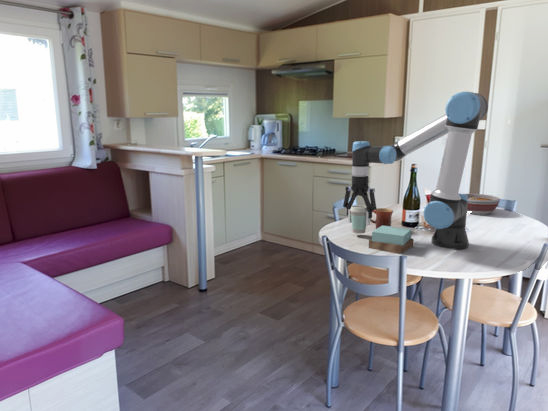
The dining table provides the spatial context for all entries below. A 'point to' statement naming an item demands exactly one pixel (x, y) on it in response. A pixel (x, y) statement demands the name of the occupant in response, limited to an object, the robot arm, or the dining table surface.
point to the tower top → (391, 235)
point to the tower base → (391, 246)
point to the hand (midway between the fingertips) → (359, 223)
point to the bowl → (482, 203)
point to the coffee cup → (358, 218)
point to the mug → (382, 217)
